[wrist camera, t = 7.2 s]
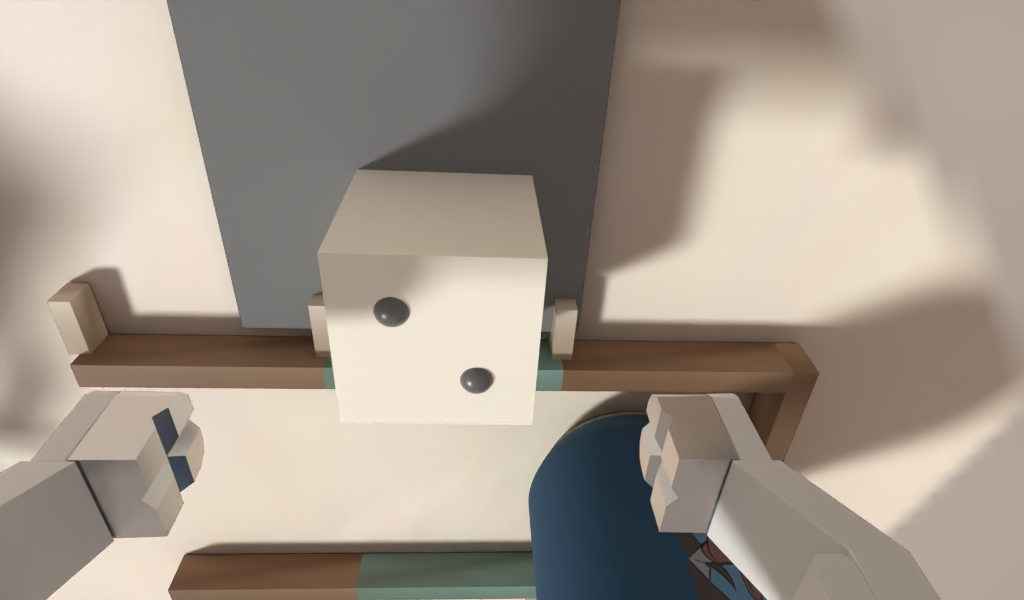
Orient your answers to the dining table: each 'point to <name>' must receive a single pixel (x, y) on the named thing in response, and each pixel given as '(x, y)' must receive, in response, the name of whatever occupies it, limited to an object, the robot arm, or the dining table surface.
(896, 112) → the dining table surface
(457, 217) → the die
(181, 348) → the track
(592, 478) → the soda can
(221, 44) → the mat
